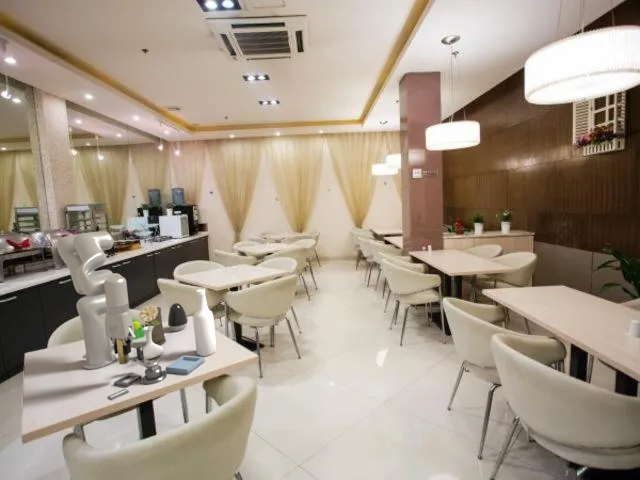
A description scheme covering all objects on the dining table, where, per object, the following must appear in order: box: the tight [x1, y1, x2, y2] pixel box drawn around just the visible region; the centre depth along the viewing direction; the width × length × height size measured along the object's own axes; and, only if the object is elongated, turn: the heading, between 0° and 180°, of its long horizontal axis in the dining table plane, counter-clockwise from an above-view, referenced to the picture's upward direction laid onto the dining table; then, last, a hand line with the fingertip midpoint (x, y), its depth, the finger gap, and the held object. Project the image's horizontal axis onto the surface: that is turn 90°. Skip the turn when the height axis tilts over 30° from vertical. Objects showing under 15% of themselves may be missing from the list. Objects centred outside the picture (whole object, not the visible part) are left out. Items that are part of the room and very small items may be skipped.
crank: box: [135, 345, 159, 371], centre depth 140 cm, size 13×4×7 cm, turn 53°
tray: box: [165, 354, 206, 375], centre depth 146 cm, size 11×11×2 cm
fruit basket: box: [132, 318, 146, 340], centre depth 183 cm, size 11×9×11 cm
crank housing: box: [113, 365, 167, 388], centre depth 137 cm, size 17×12×4 cm
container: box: [144, 306, 167, 346], centre depth 174 cm, size 9×9×18 cm
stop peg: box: [116, 339, 130, 365], centre depth 136 cm, size 4×4×12 cm
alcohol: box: [192, 288, 217, 358], centre depth 158 cm, size 9×9×30 cm
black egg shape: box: [167, 302, 189, 332], centre depth 192 cm, size 10×10×15 cm
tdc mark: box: [107, 388, 130, 401], centre depth 127 cm, size 6×3×1 cm, turn 143°
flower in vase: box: [139, 304, 165, 360], centre depth 158 cm, size 13×11×25 cm
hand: (123, 352), depth 136 cm, fingers closed on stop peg, 3 cm apart
